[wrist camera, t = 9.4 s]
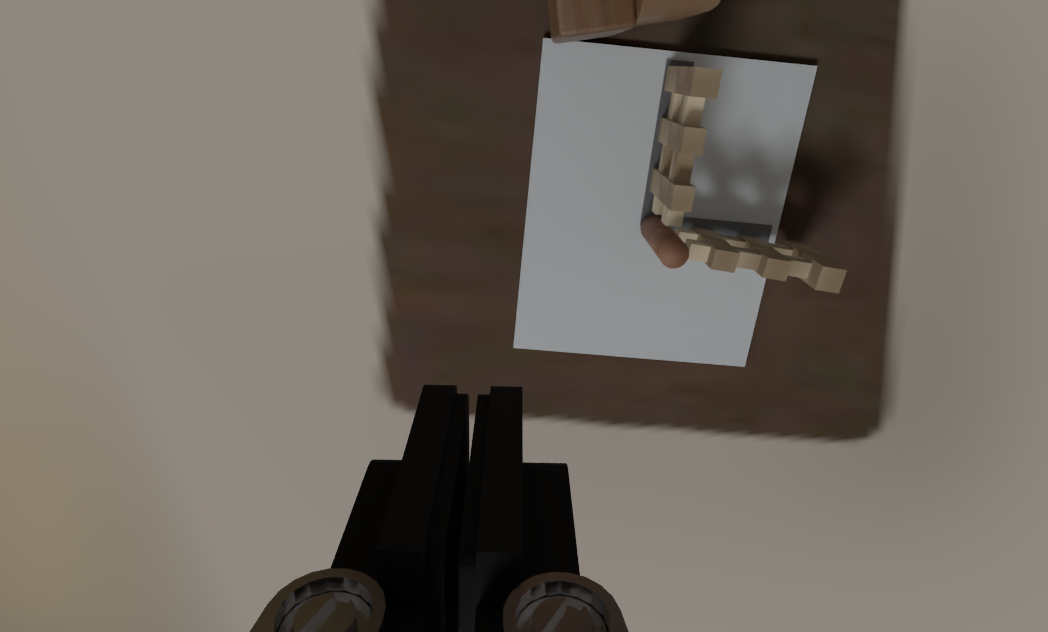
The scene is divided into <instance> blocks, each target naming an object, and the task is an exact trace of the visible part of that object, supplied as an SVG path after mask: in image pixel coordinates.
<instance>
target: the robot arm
mask: <svg viewBox="0 0 1048 632" xmlns="http://www.w3.org/2000/svg"><path fill="white" fill-rule="evenodd" d="M522 461H523V457H522V387H503V386H491V390H490V395H488V394H478V399H477V407H476V415H475V423H474V431H473V439H472V448H471V455H470V463H469V395H468V394H457V387H456V385H424V386H423V389H422V393H421V396H420V400H419V403H418V407H417V410H416V413H415V417H414V421H413V424H412V427H411V431H410V434H409V438H408V442H407V444H406V448H405V451H404V455H403V458H402V460H372V461H371V462H370V464H369V466H368V468H367V471H366V473H365V476H364V479H363V481H362V484H361V487H360V490H359V492H358V495H357V498H356V501H355V504H354V506H353V509H352V512H351V514H350V517H349V520H348V523H347V525H346V528H345V531H344V533H343V536H342V539H341V542H340V544H339V547H338V550H337V552H336V555H335V558H334V560H333V563H332V566H331V568H330V569H325V570H320V571H315V572H311V573H309V574H307V575H304V576H302V577H300V578H298V579H295V580H294V581H292V582H291V583H289V584H288V585H287V586H285V587H284V588H282V589H281V590H280V591H279V592H278V593H277V594H276V595H275V596H274V597H273V599H272V600H271V601H270V602H269V603H268V604H267V606H266V607H265V609H264V610H263V612H262V614H261V615H260V617H259V618H258V620H257V621H256V623H255V624H254V626H253V628H252V629H251V630H250V632H628V629H627V627H626V624H625V621H624V618H623V616H622V613H621V610H620V608H619V607H618V605H617V603H616V602H615V600H614V598H613V597H612V595H611V594H609V593H608V592H607V591H606V590H605V589H604V588H603V587H602V586H601V585H599V584H597V583H596V582H594V581H592V580H590V579H588V578H586V577H584V576H580V573H579V564H578V556H577V546H576V537H575V528H574V519H573V510H572V501H571V492H570V483H569V474H568V467H567V464H566V463H523V462H522Z"/></svg>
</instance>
